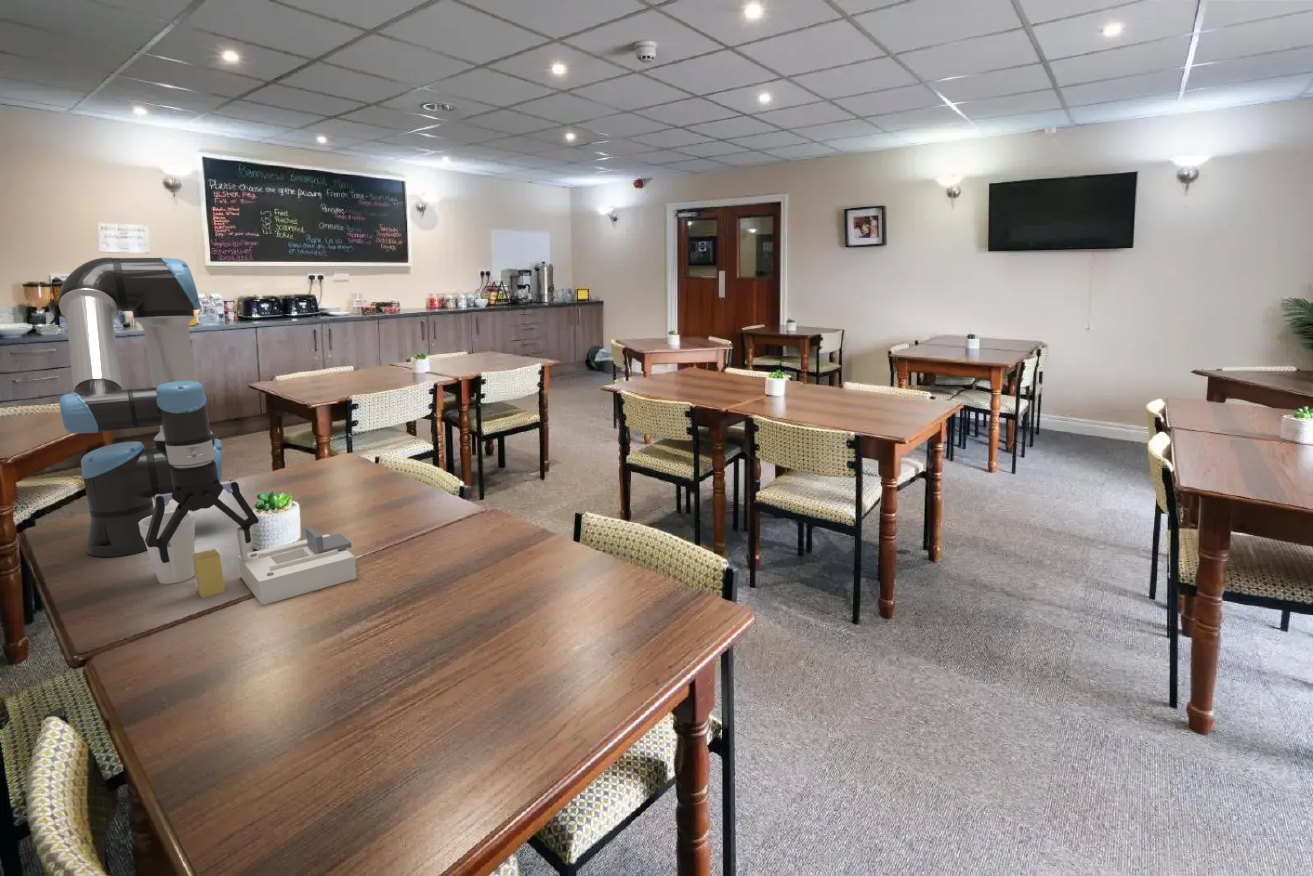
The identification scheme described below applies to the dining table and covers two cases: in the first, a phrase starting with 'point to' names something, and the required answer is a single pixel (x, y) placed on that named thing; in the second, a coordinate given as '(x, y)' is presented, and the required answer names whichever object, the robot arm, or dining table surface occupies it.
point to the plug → (208, 573)
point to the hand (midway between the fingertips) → (210, 567)
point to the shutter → (325, 541)
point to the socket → (294, 570)
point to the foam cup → (181, 548)
